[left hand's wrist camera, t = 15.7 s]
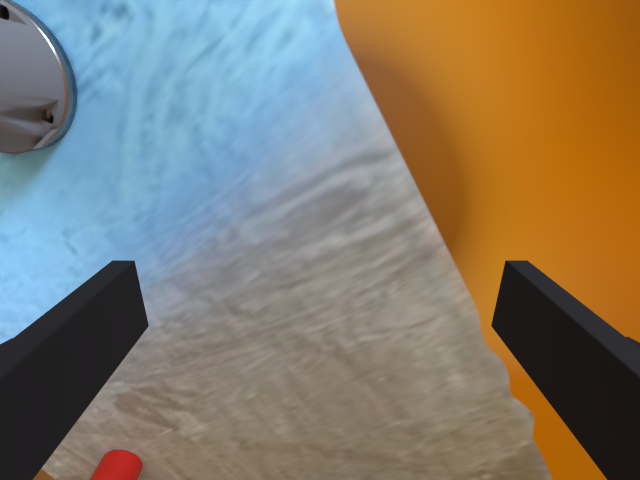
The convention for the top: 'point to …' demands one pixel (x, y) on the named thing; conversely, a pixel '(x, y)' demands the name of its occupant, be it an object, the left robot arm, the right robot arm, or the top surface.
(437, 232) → the top surface
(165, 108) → the top surface
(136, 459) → the tin
